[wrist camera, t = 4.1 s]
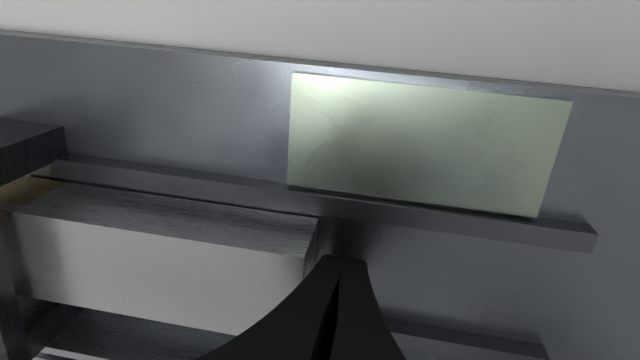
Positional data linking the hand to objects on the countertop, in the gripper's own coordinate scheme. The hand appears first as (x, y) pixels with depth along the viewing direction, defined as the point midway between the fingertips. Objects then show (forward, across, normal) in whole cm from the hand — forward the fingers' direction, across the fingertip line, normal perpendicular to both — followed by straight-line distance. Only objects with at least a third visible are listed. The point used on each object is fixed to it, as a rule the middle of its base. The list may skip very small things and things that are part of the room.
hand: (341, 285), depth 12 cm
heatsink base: (+2, +2, 0) cm, 3 cm away
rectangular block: (+1, +6, 0) cm, 6 cm away
